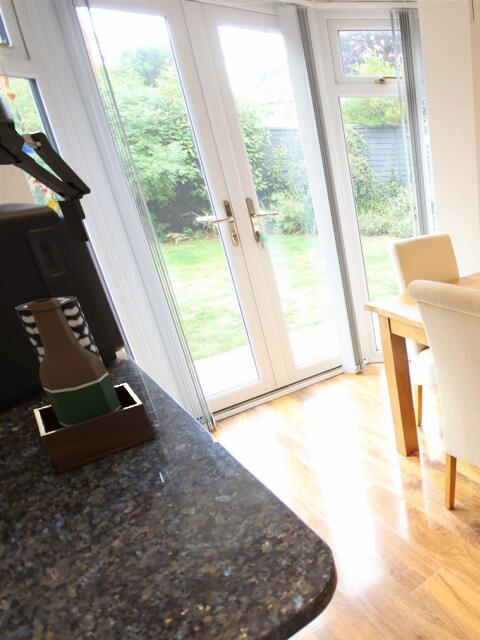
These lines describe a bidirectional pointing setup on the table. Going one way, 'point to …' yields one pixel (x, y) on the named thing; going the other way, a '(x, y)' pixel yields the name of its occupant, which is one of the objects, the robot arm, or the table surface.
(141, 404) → the brown wooden open box
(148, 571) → the table surface
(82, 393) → the beer bottle
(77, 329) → the spotted tube
